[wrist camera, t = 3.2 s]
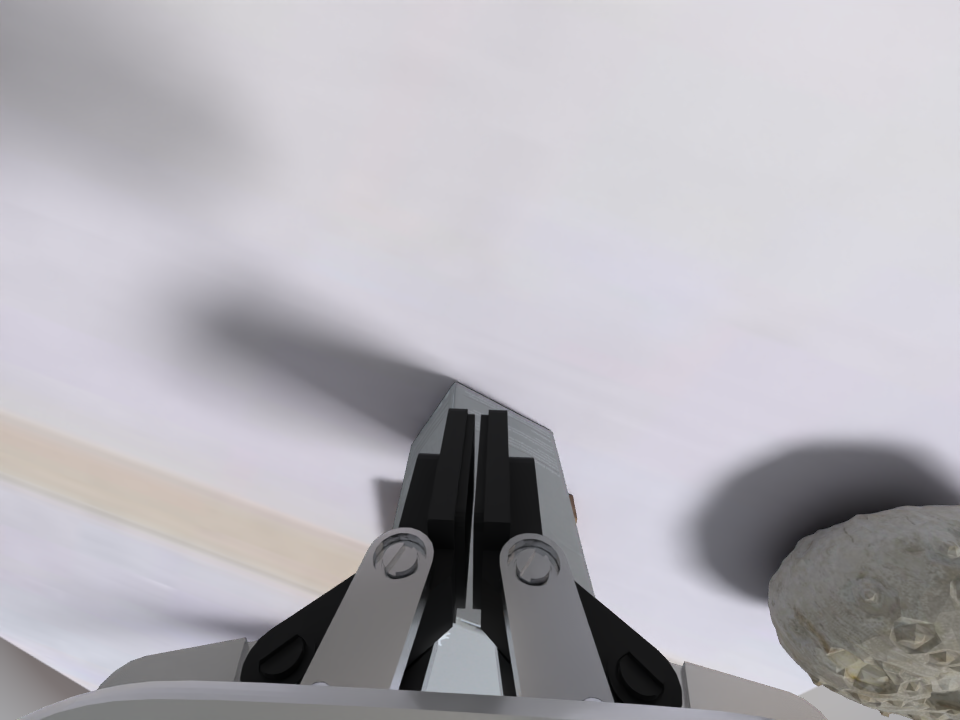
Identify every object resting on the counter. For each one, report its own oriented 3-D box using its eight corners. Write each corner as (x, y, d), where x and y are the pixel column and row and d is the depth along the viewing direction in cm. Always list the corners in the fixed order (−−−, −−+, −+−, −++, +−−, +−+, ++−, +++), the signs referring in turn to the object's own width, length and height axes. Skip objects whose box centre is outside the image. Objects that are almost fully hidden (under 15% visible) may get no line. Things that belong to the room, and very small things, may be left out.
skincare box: (411, 440, 30) (333, 701, 16) (462, 368, 27) (418, 613, 13) (509, 489, 32) (514, 763, 18) (566, 427, 29) (626, 697, 15)
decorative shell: (762, 633, 39) (838, 778, 30) (724, 506, 32) (809, 648, 23) (991, 588, 35) (1158, 743, 26) (1008, 430, 27) (1247, 570, 19)
